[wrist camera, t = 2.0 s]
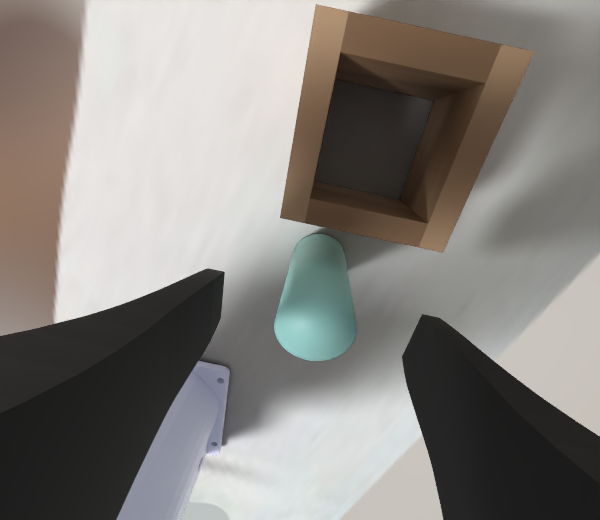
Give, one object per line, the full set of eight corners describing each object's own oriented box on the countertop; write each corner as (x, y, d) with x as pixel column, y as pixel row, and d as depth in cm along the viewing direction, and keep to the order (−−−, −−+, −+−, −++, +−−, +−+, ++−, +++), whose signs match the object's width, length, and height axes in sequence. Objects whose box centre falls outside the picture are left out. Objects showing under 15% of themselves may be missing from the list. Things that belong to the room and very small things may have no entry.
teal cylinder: (337, 285, 15) (344, 368, 10) (288, 275, 15) (268, 351, 10) (351, 239, 14) (367, 304, 9) (298, 228, 14) (281, 286, 9)
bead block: (411, 221, 13) (442, 252, 10) (292, 195, 13) (279, 217, 10) (465, 79, 11) (534, 51, 7) (318, 48, 11) (316, 3, 7)
